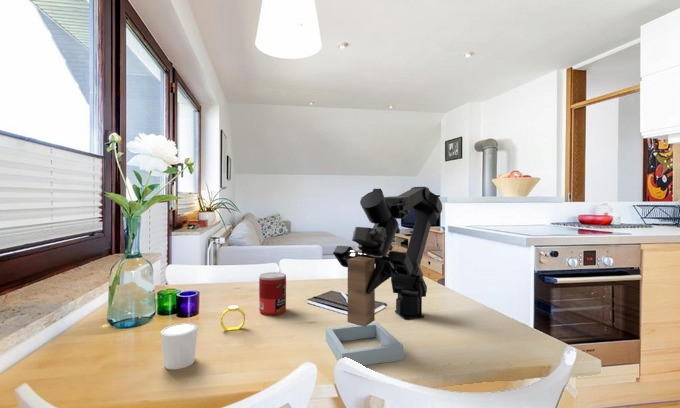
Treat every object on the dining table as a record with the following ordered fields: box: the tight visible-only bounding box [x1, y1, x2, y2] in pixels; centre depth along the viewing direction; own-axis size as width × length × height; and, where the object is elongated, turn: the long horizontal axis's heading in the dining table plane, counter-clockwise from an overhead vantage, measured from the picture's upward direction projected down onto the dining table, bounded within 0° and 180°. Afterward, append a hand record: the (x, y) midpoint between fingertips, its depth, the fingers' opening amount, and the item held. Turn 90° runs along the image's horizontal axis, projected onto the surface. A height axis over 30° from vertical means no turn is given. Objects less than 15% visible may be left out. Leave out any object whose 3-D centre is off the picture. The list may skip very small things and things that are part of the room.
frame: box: [325, 322, 404, 366], centre depth 73 cm, size 13×13×3 cm
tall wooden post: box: [347, 257, 376, 327], centre depth 73 cm, size 4×4×14 cm
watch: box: [220, 304, 246, 332], centre depth 85 cm, size 6×3×6 cm, turn 107°
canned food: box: [258, 271, 287, 316], centre depth 98 cm, size 8×8×11 cm
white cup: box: [160, 322, 199, 370], centre depth 67 cm, size 7×7×7 cm
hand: (358, 291), depth 72 cm, fingers closed on tall wooden post, 4 cm apart
